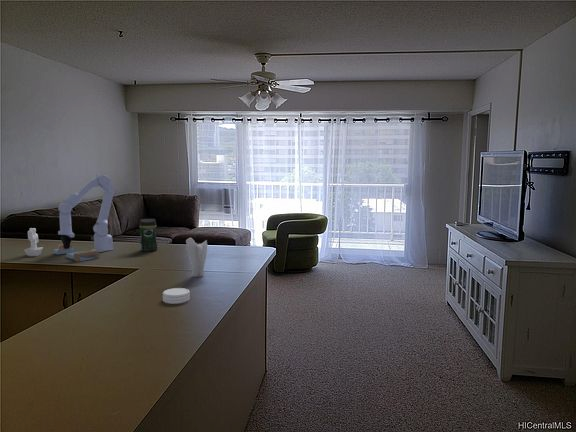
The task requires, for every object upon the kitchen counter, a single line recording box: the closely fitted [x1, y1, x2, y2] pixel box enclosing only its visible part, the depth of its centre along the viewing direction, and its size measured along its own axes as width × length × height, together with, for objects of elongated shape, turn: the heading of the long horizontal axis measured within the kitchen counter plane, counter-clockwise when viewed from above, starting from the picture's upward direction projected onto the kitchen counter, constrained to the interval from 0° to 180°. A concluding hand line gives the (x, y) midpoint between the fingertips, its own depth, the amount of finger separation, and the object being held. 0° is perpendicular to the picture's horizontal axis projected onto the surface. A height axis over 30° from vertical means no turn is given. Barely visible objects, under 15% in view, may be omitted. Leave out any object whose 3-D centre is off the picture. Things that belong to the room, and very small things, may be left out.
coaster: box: [162, 287, 191, 305], centre depth 166 cm, size 10×10×4 cm
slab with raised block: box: [53, 242, 75, 256], centre depth 246 cm, size 9×5×5 cm, turn 143°
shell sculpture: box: [185, 237, 208, 278], centre depth 200 cm, size 8×8×18 cm
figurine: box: [23, 227, 44, 257], centre depth 239 cm, size 7×9×15 cm
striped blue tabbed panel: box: [66, 249, 100, 263], centre depth 234 cm, size 12×14×4 cm
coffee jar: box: [138, 218, 158, 252], centre depth 255 cm, size 10×8×19 cm
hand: (67, 248), depth 244 cm, fingers closed
